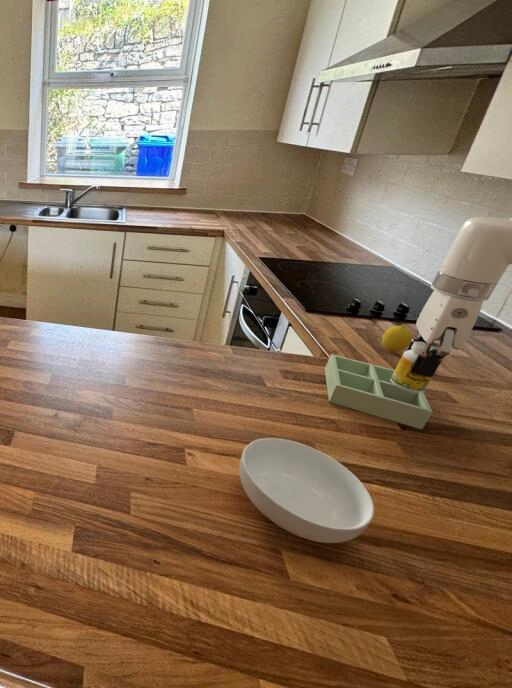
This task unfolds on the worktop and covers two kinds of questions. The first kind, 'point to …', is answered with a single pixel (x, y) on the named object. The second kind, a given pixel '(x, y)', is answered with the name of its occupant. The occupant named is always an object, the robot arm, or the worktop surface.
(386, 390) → the compartment tray
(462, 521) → the worktop surface
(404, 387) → the supplement bottle
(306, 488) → the cereal bowl
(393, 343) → the lemon
